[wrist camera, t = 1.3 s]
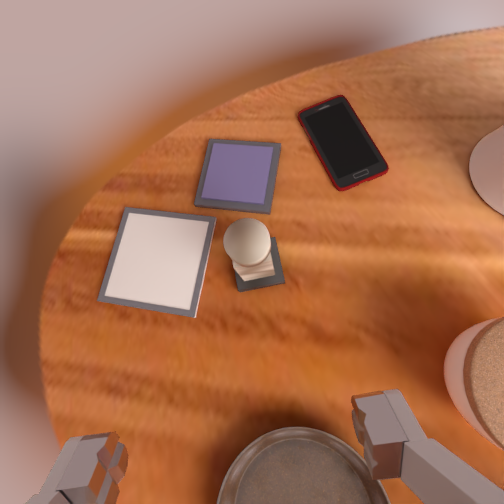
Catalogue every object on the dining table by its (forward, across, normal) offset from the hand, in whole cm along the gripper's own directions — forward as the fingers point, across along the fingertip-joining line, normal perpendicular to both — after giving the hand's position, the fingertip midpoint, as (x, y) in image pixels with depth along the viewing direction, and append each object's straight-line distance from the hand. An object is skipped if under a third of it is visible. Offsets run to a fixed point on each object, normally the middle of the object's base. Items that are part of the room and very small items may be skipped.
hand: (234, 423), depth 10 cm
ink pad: (+37, 0, -1) cm, 37 cm away
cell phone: (+39, -16, -2) cm, 42 cm away
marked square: (+30, +13, +7) cm, 34 cm away
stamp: (+28, -1, +9) cm, 29 cm away
